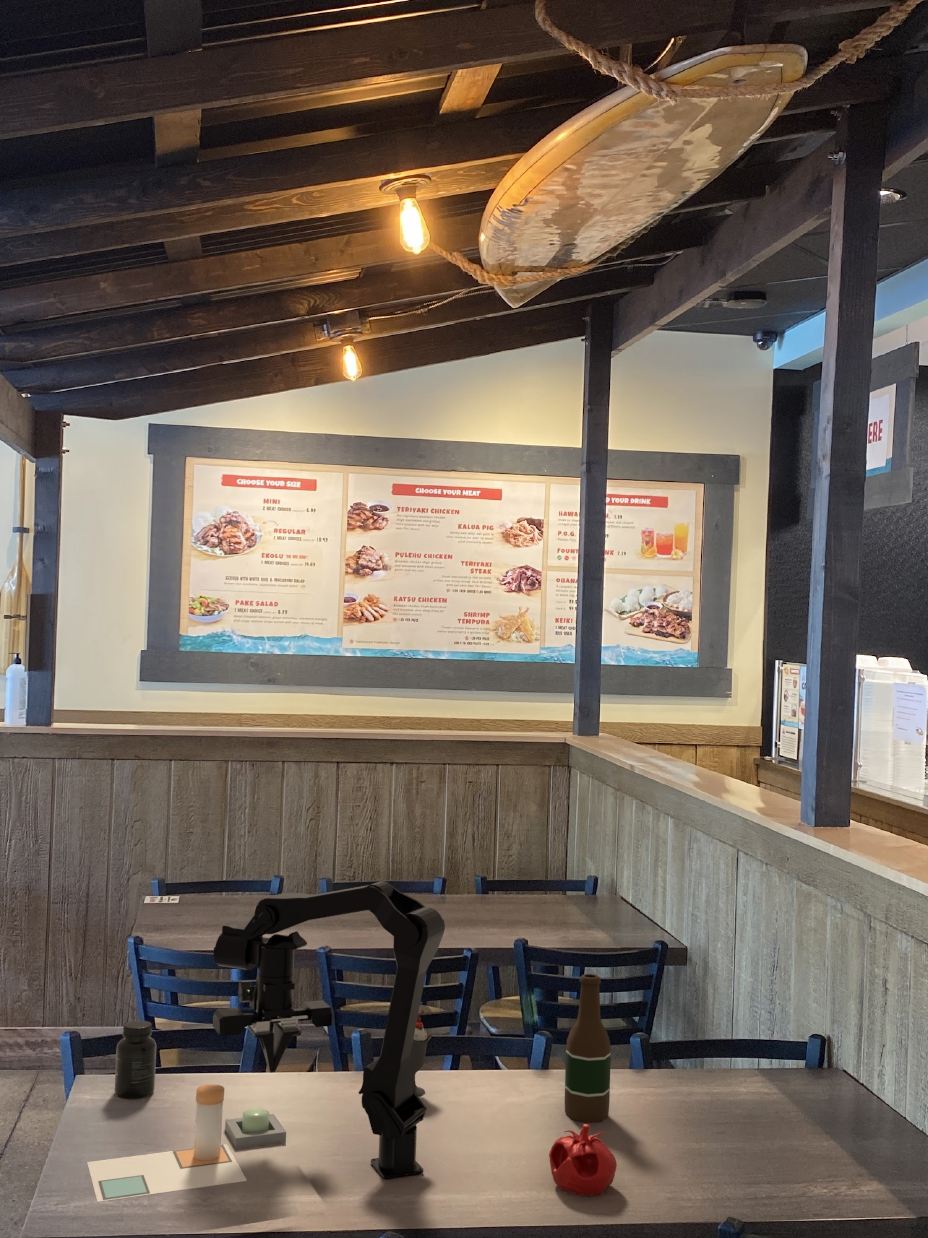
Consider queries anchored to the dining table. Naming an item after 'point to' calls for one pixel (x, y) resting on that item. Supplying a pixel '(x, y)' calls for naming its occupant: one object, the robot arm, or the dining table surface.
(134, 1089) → the supplement bottle
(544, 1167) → the dining table surface
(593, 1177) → the pomegranate
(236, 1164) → the colouring mat
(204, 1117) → the marker
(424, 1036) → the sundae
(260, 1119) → the button
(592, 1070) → the beer bottle
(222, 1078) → the dining table surface
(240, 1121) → the button housing
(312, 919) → the robot arm
